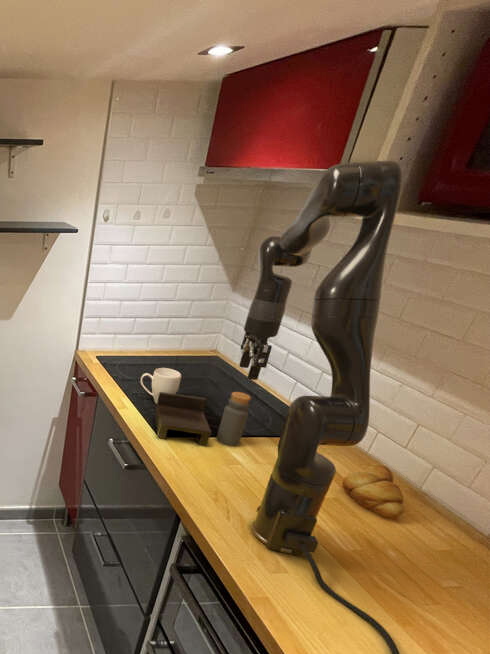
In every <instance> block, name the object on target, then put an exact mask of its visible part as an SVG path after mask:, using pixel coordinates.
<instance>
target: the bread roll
mask: <svg viewBox="0 0 490 654" xmlns="http://www.w3.org/2000/svg"><path fill="white" fill-rule="evenodd" d="M394 481H395V480H394V475H393V473H392V471H391V470H390V468H389V467H387V466H385V465H382V464H373V465H371V466H368V467H367V468H366V469H365V470H364V471H355V472H349V473H348V474H346V476H345V477H344V478H343V479H342V488H343V489H344V491H345V492H346V493H347V494H349V495H350V496H351V497H352V499H353V500H354V501H355V502H356V503H357V504H358V505H361V506H363V507H365V508H367V509H370V510H371V511H373V512H374V513H376V514H378V515H381V516H383V517H385V518H389V519H397V518H399V517H401V516H402V515H403V513H404V511H405V508H404V506H403V505H402V504H403V503H404V501H405V499H404V494H403V492H402V489H401V488H400V487H399V486H398V484H396V483H394Z"/></svg>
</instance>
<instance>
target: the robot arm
mask: <svg viewBox="0 0 490 654" xmlns="http://www.w3.org/2000/svg"><path fill="white" fill-rule="evenodd" d="M403 179H404V173H403V168H402V166H401V164H400V162H398V161H396V160H372V161H353V162H344V163H337V164H334V165H332V166H330V167H329V168H327V169H326V170H325V171H324V172H323V173H322V174H321V176H320V177H319V179H318V180H317V182H316V183H315V185H314V186H313V188H312V190H311V191H310V193H309V195H308V197H307V198H306V201H305V202H304V203H303V206H302V208H301V210H300V211H299V213H298V215H297V216H296V217H295V219H293V221H292V222H291V223H290V224H289V225H288V226H287V227H286V228H285V229H284V230H283V231H282V233H281V234H280V236H277V235H275V236H273V235H271V236H268V237H266V238H265V239H264V240H263V241H262V242H261V244H260V246H259V247H258V265H259V266H258V269H259V271H258V282H257V286H256V289H255V292H254V297H253V299H252V301H251V303H250V305H249V310H248V313H247V316H246V321H245V324H244V327H243V331H244V335H243V339H242V342H241V345H240V350H241V358H240V361H239V364H238V365H239V367H240V368H242V369H244V368H245V369H248V368H249V371H248V374H247V379H248V380H251V381H252V380H253V381H258V379H259V376H260V374H261V370H262V368H264V369H266V368H267V365H268V362H269V358H270V355H271V352H272V348H273V346H272V344H271V345H269V343H268V339H269V338H270V339H271V338H275V337H277V335H278V333H279V330H280V327H281V324H282V320H283V318H284V314H285V310H286V306H287V301H288V299H289V296H290V291H291V288H292V284H293V280H292V278H290V277H288V276H284V275H281V274H277V273H275V271H274V267H284V268H299V267H302V266H304V265H305V264H307V262H308V261H309V259H310V257H311V253H312V250H313V249H314V248H315V247H316V246H318V245H319V244H320V243H321V242H322V241H323V240H324V239H325V238H326V237H327V235H328V234H329V232H330V229H331V221H330V218H340V219H341V218H361V223H360V228H359V231H358V234H357V236H356V238H355V241H354V242H353V244H352V246H351V247H350V249H349V250H348V251H347V252H346V254H345V255H343V257H342V258H341V260H340V261H338V263H337V264H336V265H335V266H333V268H332V269H331V270H330V271H329V272H328V274H327V275H326V276H325V277H324V278H323V279H322V280H321V282H320V283H319V284H318V286H317V288H316V290H315V292H314V297H313V302H312V303H313V304H312V305H313V306H312V311H311V319H310V320H311V321H310V325H311V331H312V334H313V336H314V337H315V340H316V342H317V343H318V345H319V347H320V349H321V351H322V352H323V354H324V356H325V358H326V359H327V361H328V365H329V367H330V371H331V380H332V381H331V392H330V395H329V396H325V395H300V396H298V397H296V398H295V399H294V400H293V401H292V402H291V404H290V405H289V407H288V409H287V411H286V414H285V418H284V422H283V425H282V429H281V433H280V436H279V440H278V444H277V457H276V460H275V463H274V465H273V469H272V471H271V474H270V477H269V480H268V482H267V484H266V488H265V491H264V494H263V497H262V499H261V501H260V504H259V506H258V507H257V509H256V513H257V514H256V517H255V519H254V521H253V523H252V526H251V531H252V533H253V534H254V536H255V537H256V538H257V539H258V540H259V541H260V542H261V543H263V544H264V545H265V546H266V549H268V550H270V551H275V552H279V553H285V554H289V555H295V556H298V557H303V555H304V556H305V558H306V560H307V562H308V563H309V565H310V568H311V570H312V572H313V575H314V577H315V580H316V581H317V583H318V585H320V587H321V588H322V589H323V591H325V593H327V594H328V595H329V596H330V597H332V598H333V599H334V600H335V601H337V602H339V603H340V604H341V605H343V606H345V607H346V608H347V609H349V610H350V611H352V612H353V613H355V614H356V615H358V616H359V617H361V618H362V619H364V620H365V621H366V622H368V623H369V624H370V625H371V626H373V628H374V629H376V631H377V632H379V634H380V635H381V636H382V637H383V639H384V641H385V642H386V644H387V646H388V648H389V649H390V653H391V654H400V652H399V649H398V646H397V644H396V642H395V641H394V639H393V637H392V636H391V635H390V634H389V632H387V630H386V629H385V628H384V627H383V626H382V625H381V624H380V623H379V622H378V621H377V620H376V619H375V618H373V617H372V616H371V615H369V614H368V613H366V612H365V611H364V610H362V609H360V608H358V607H357V606H355V605H354V604H352V603H351V602H350V601H348V600H346V599H345V598H343V597H341V596H340V595H339V594H338V593H337V592H335V591H334V590H333V589H332V588H331V587H330V586H329V585H328V584H327V583H326V581H324V578H323V577H322V574H321V572H320V568H319V567H318V564H317V563H316V561H315V560H314V559H315V558H314V557H313V555H312V554H315V552H316V550H317V547H318V546H319V541H318V539H317V537H316V536H315V535H312V534H313V532H314V529H315V527H316V524H317V522H318V519H317V518H318V516H319V513H320V510H321V509H322V506H323V503H324V501H325V498H326V497H327V494H328V492H329V489H330V487H331V485H332V483H333V481H334V479H335V476H336V473H337V468H336V465H335V464H334V462H333V461H331V460H330V459H329V458H328V457H326V456H325V455H323V454H322V453H319V452H317V451H318V448H319V446H329V447H354V446H356V445H358V444H360V443H361V442H362V441H363V439H364V438H365V437H366V434H367V432H368V428H369V422H370V411H371V410H370V407H371V406H370V405H371V370H372V369H371V368H372V367H371V366H372V358H373V349H374V341H375V334H376V329H377V323H378V319H379V312H380V306H381V298H382V287H383V280H384V279H383V278H384V271H385V264H386V256H387V252H388V247H389V243H390V238H391V234H392V230H393V227H394V222H395V218H396V214H397V211H398V206H399V202H400V198H401V193H402V188H403ZM311 553H312V554H311Z"/></svg>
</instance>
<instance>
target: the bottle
mask: <svg viewBox="0 0 490 654" xmlns="http://www.w3.org/2000/svg"><path fill="white" fill-rule="evenodd" d="M251 399H252V397H251V396H250V395H249V394H247V393H245V392H241V391H232V393H231V396H230V397H229V398H228V404H227V405H225V407H224V410H223V413H222V417H221V420H220V424H219V428H218V431H217V433H216V440H217V441H218V442H219V443H221V444H222V445H224V446H228V447H238V446H239V444H240V443H241V439H242V437H243V434H244V430H245V427H246V423H247V420H248V417H249V410H248V408H249V407H250V405H251V403H250V400H251Z"/></svg>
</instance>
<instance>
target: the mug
mask: <svg viewBox="0 0 490 654" xmlns="http://www.w3.org/2000/svg"><path fill="white" fill-rule="evenodd" d="M145 376H146V377H149V378H150V379H151V391H150V390H149V389H148V388H147V387H146V386H145V385H144V382H143V380H144V377H145ZM181 380H182V374H181V373H180V372H179V371H178V370H175V369H173V368H167V367H158V368H156V369H154V371H153V374H150V373H149V372H145V373H143V374H142V375H141V377H140V385H141V386H142V388H143V389H144V390H145V392H146V393H148V394H149V395H150V396H152V397H153V402H154V403H155V405H157V402H158V397H159V393H160V392H163V393H171V394H177V393H178V390H179V388H180V383H181Z"/></svg>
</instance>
